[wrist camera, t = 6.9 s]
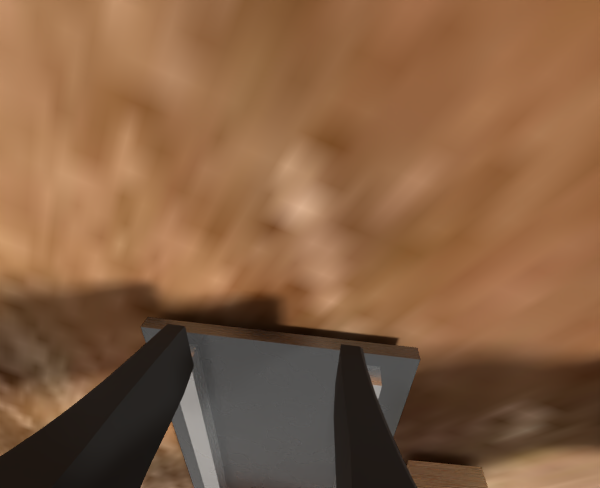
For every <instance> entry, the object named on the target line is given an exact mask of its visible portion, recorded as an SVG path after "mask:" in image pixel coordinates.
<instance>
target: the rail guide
mask: <svg viewBox="0 0 600 488" xmlns="http://www.w3.org/2000/svg"><path fill="white" fill-rule="evenodd" d="M167 324H173V325H181V326H185V328H186V332H187V337H188V341H189V346H190V350H191V355H192V359H193V363H194V367H193V370H192V373H191V376H190V379H189V382H188V384H187V387H186V390H185V393H184V395H183V398H182V400H181V402H180V404H179V406H178V408H177V410H176V412H175V415H174V417H173V419H172V423H173V426H174V429H175V432H176V435H177V438H178V441H179V444H180V447H181V450H182V453H183V456H184V459H185V462H186V465H187V468H188V471H189V474H190V477H191V480H192V483H193V486H194V488H336V469H335V443H334V397H335V382H336V375H337V368H338V361H339V354H340V347H341V344H344V345H352V346H360V347H361V348H362V349H363V352H364V357H365V361H366V365H367V368H368V372H369V375H370V378H371V381H372V384H373V387H374V390H375V393H376V396H377V399H378V401H379V404H380V406H381V409H382V412H383V414H384V417H385V419H386V422H387V424H388V427H389V429H390V431H391V434H392V436H393V437H394V434H395V431H396V428H397V425H398V422H399V420H400V417H401V414H402V411H403V408H404V405H405V402H406V399H407V396H408V394H409V391H410V388H411V385H412V382H413V379H414V376H415V373H416V371H417V368H418V365H419V362H420V356H419V352H418V348H414V347H405V346H396V345H388V344H379V343H370V342H361V341H353V340H344V339H335V338H326V337H318V336H309V335H300V334H291V333H282V332H274V331H265V330H256V329H247V328H239V327H230V326H221V325H212V324H204V323H195V322H186V321H177V320H168V319H160V318H151V317H147V319H146V320H145V322H144V323H143V324H142V326H141V329H142V332H143V335H144V338H145V341H146V343H147V342H148V341H149V340H150V339H151V338H152V337H153V336H155V335H156V334H157V333H158V332H159V331H160V330H161V329H162V328H163V327H165V326H166V325H167Z"/></svg>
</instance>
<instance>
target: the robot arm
mask: <svg viewBox="0 0 600 488" xmlns="http://www.w3.org/2000/svg"><path fill="white" fill-rule="evenodd" d="M193 367H194V363H193V359H192V355H191V350H190V346H189V341H188V337H187V332H186V328H185V326H181V325H173V324H167V325H166V326H165V327H163V328H162V329H161V330H160V331H159V332H158V333H157V334H156V335H155V336H153V337H152V338H151V339H150V340H149V341H148V342H147V343H146V344H145V345H144V346H142V347H141V348H140V349H139V350H138V351H137V352H136V353H135V354H134V355H133V356H131V357H130V358H129V359H128V360H127V361H126V362H125V363H123V364H122V365H121V366H120V367H119V368H118V369H117V370H115V371H114V372H113V373H112V374H111V375H110V376H109V377H107V378H106V379H105V380H104V381H103V382H101V383H100V384H99V385H98V386H96V387H95V388H94V389H93V390H92V391H90V392H89V393H88V394H87V395H85V396H84V397H83V398H82V399H80V400H79V401H78V402H77V403H75V404H74V405H73V406H72V407H70V408H69V409H68V410H66V411H65V412H64V413H62V414H61V415H60V416H58V417H57V418H56V419H54V420H53V421H52V422H50V423H49V424H47V425H46V426H45V427H43V428H42V429H40V430H39V431H38V432H36V433H35V434H33V435H32V436H30V437H29V438H27V439H26V440H24V441H23V442H21V443H20V444H19V445H17V446H16V447H14V448H13V449H11V450H9V451H8V452H6V453H5V454H3V455H2V456H0V488H140V487H141V484H142V482H143V480H144V477H145V475H146V473H147V471H148V468H149V466H150V464H151V462H152V460H153V458H154V456H155V454H156V452H157V450H158V448H159V445H160V443H161V441H162V439H163V437H164V435H165V433H166V431H167V429H168V427H169V425H170V423H171V421H172V419H173V417H174V415H175V412H176V410H177V408H178V406H179V404H180V402H181V400H182V398H183V395H184V393H185V390H186V387H187V384H188V382H189V379H190V376H191V373H192V370H193ZM334 443H335V469H336V488H417V486H416V484H415V482H414V480H413V478H412V476H411V474H410V472H409V470H408V468H407V466H406V464H405V462H404V460H403V458H402V456H401V454H400V452H399V449H398V447H397V445H396V443H395V440H394V438H393V436H392V434H391V431H390V429H389V427H388V424H387V422H386V419H385V417H384V414H383V412H382V409H381V406H380V404H379V401H378V399H377V396H376V393H375V390H374V387H373V384H372V381H371V378H370V375H369V372H368V368H367V365H366V361H365V357H364V352H363V349H362V348H361V347H360V346H352V345H344V344H341V347H340V354H339V361H338V368H337V375H336V382H335V397H334Z"/></svg>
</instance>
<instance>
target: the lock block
mask: <svg viewBox="0 0 600 488" xmlns="http://www.w3.org/2000/svg"><path fill="white" fill-rule="evenodd" d="M407 468H408V470H409V472H410V474H411V476H412V478H413V480H414V482H415V484H416V486H417V488H488V486H487V483H486V480H485V476H484V473H483V470H482V467H474V466H464V465H453V464H443V463H433V462H422V461H412V460H408V463H407Z"/></svg>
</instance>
